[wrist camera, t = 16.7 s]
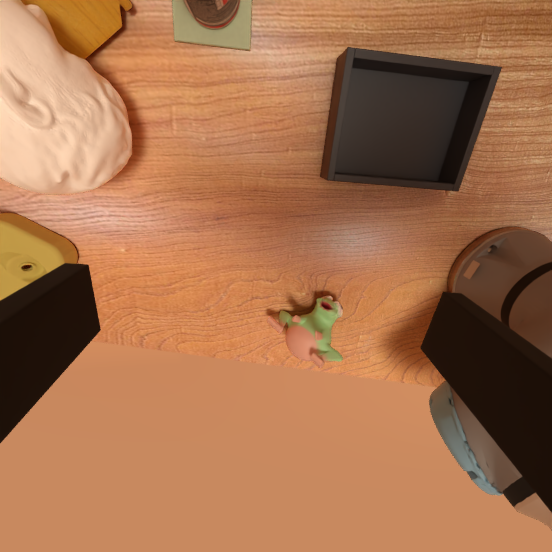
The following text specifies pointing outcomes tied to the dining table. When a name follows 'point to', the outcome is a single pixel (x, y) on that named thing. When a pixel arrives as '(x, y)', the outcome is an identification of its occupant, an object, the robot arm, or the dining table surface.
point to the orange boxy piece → (82, 22)
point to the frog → (311, 331)
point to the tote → (404, 119)
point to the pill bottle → (213, 11)
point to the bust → (55, 111)
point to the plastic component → (29, 252)
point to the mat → (225, 37)
